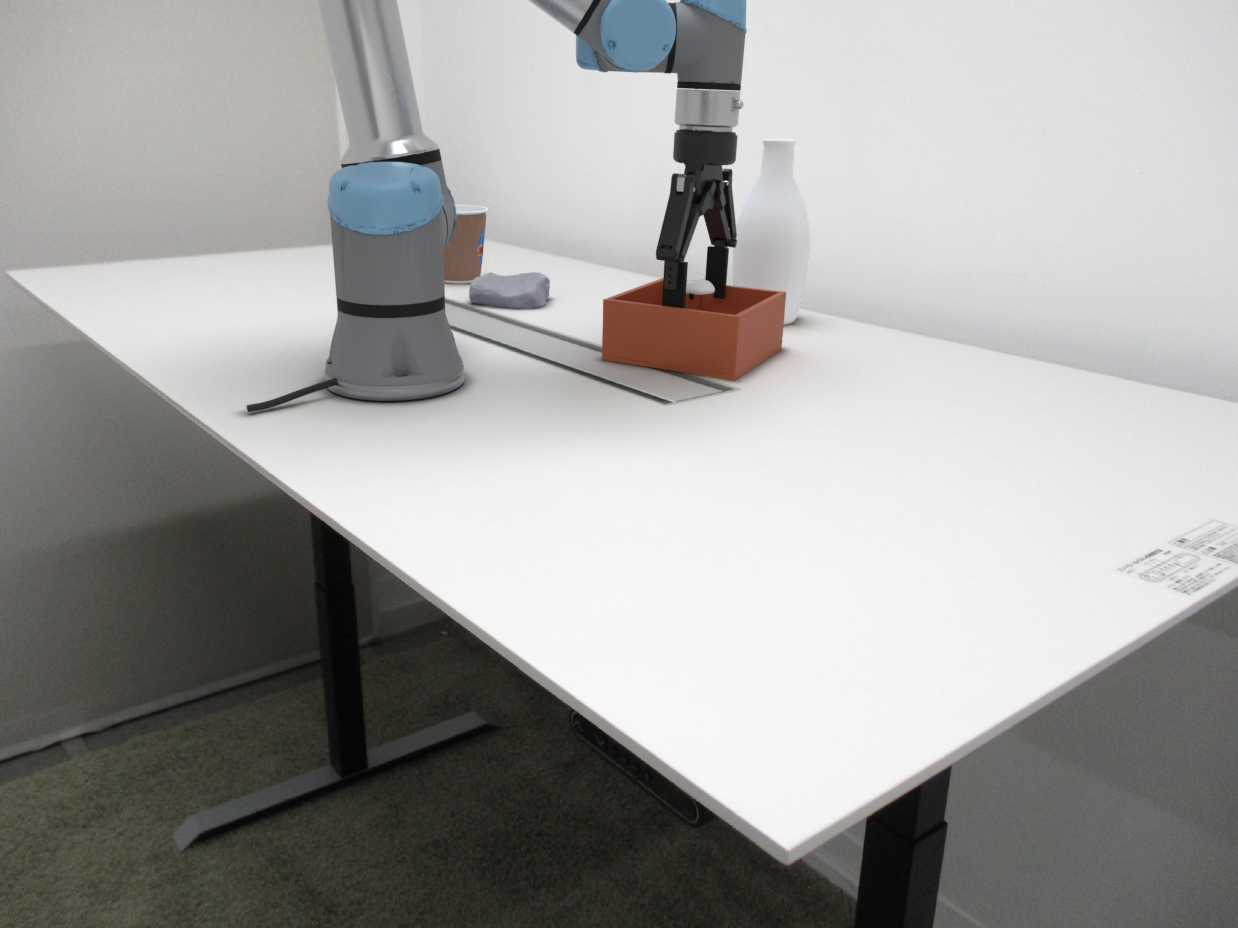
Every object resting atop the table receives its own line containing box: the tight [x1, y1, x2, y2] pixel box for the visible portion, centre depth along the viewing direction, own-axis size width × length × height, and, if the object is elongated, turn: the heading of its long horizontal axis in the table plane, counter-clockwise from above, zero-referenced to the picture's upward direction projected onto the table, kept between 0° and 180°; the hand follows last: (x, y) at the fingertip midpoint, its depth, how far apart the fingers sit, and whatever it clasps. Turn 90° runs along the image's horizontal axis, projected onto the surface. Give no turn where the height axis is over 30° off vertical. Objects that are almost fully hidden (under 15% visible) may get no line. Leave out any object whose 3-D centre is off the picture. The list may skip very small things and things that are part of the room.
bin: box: [601, 277, 786, 381], centre depth 128 cm, size 18×18×8 cm
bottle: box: [731, 138, 811, 326], centre depth 145 cm, size 11×11×25 cm
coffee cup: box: [443, 204, 489, 285], centre depth 170 cm, size 10×10×12 cm
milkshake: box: [685, 278, 715, 312], centre depth 127 cm, size 4×5×10 cm
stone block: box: [468, 271, 551, 310], centre depth 156 cm, size 12×5×10 cm
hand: (694, 306), depth 127 cm, fingers open, 13 cm apart
